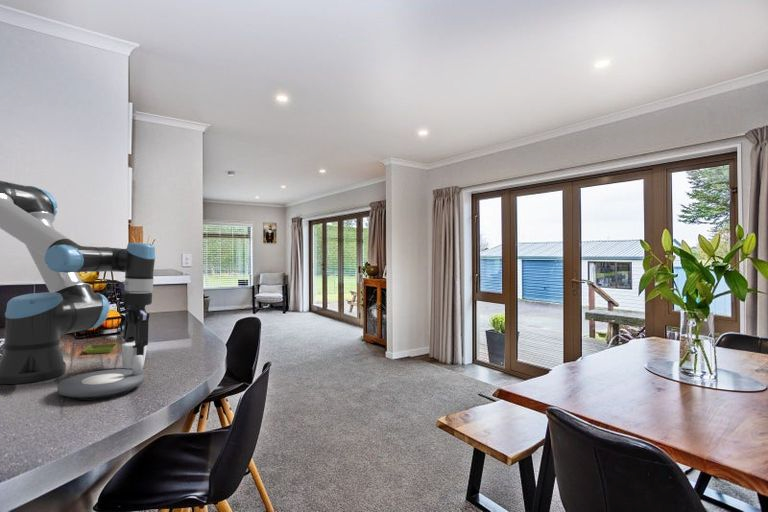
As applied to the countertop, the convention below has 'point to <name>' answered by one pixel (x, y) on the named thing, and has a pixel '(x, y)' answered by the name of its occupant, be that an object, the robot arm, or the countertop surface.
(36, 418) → the countertop surface
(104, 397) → the base
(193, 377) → the countertop surface
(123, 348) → the white cup
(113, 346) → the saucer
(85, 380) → the disc
